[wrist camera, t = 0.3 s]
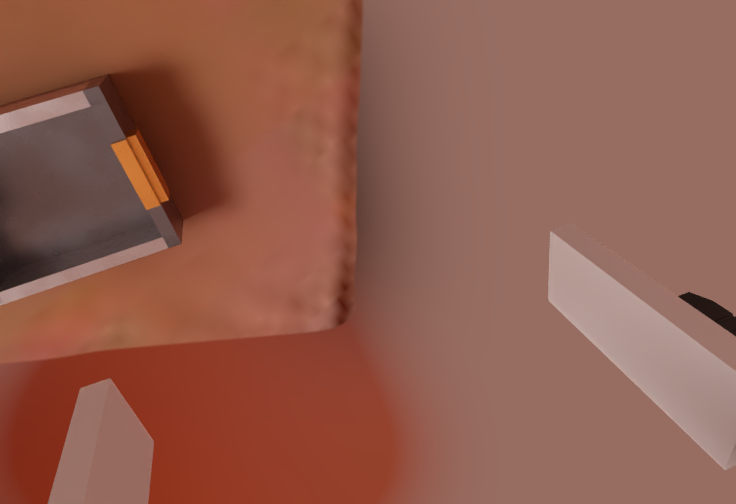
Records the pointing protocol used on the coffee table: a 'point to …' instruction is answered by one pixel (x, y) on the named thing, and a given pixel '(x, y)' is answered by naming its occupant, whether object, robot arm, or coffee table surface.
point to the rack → (76, 189)
